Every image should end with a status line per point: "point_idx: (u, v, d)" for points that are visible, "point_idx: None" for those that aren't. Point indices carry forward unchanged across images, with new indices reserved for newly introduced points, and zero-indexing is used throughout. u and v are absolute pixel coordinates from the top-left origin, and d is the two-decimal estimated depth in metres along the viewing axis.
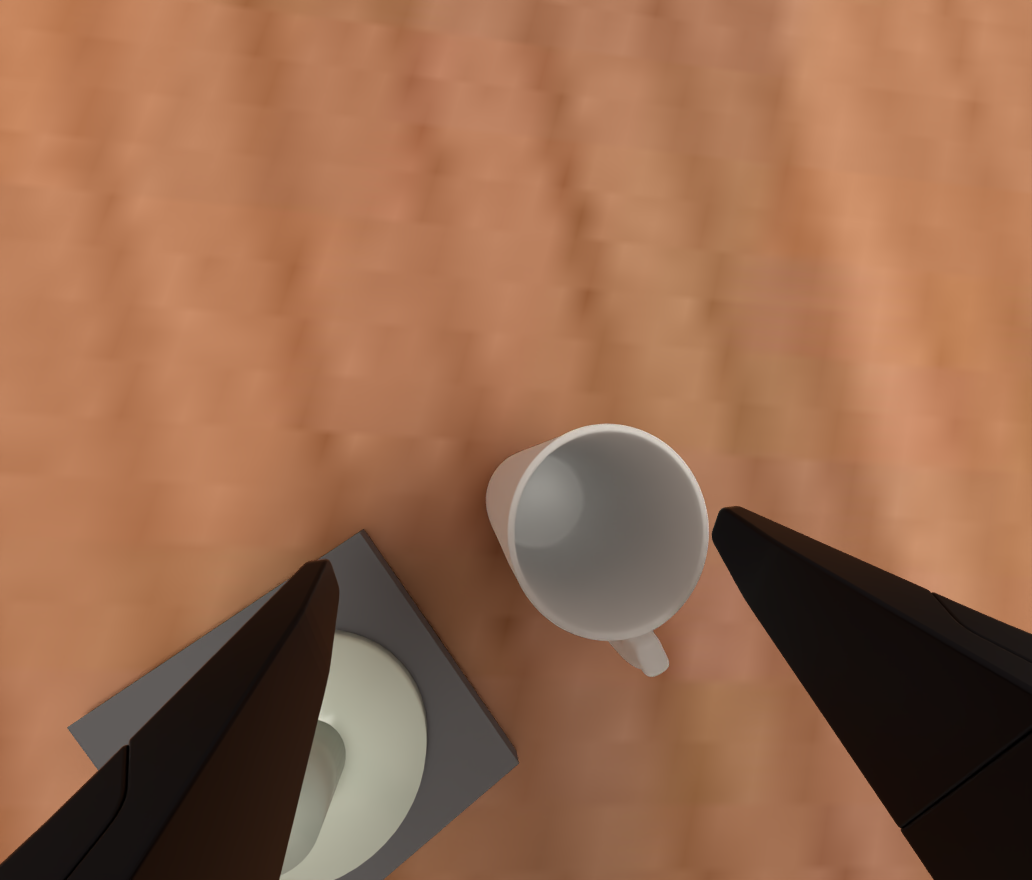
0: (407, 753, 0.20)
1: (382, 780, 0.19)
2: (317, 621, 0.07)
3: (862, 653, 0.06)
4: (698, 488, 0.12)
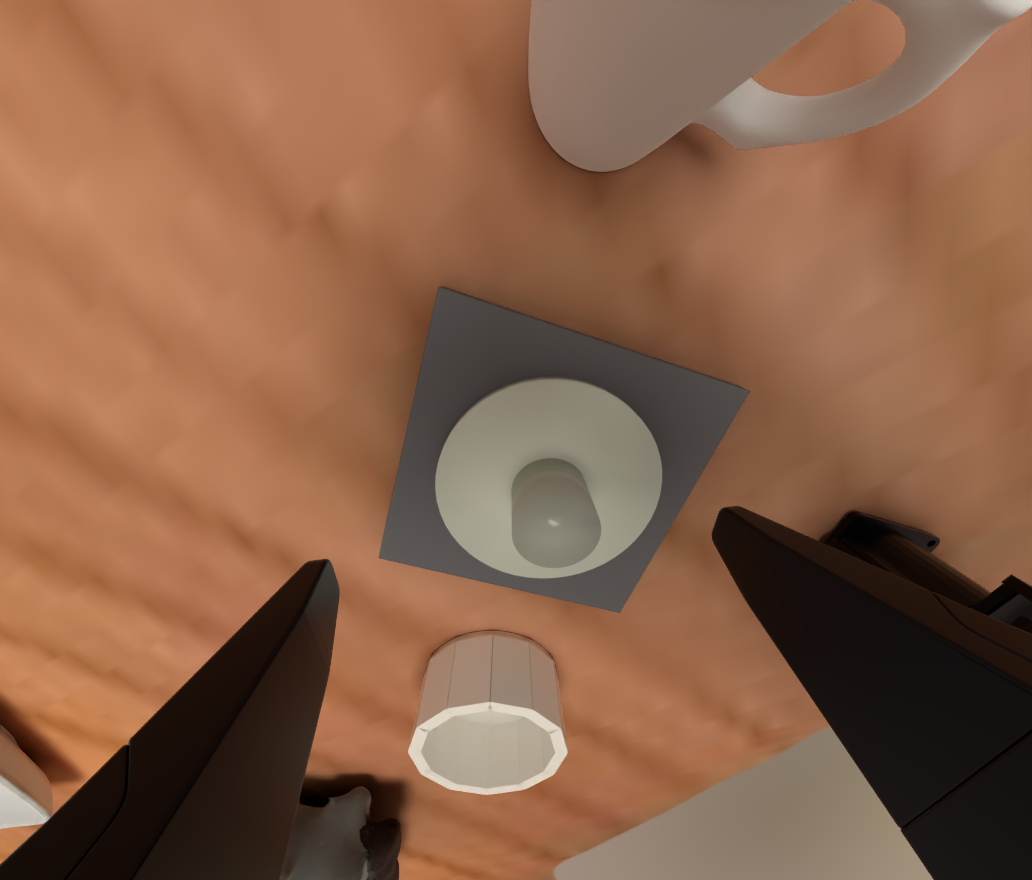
0: (632, 440, 0.19)
1: (623, 470, 0.20)
2: (317, 621, 0.07)
3: (862, 653, 0.06)
4: None
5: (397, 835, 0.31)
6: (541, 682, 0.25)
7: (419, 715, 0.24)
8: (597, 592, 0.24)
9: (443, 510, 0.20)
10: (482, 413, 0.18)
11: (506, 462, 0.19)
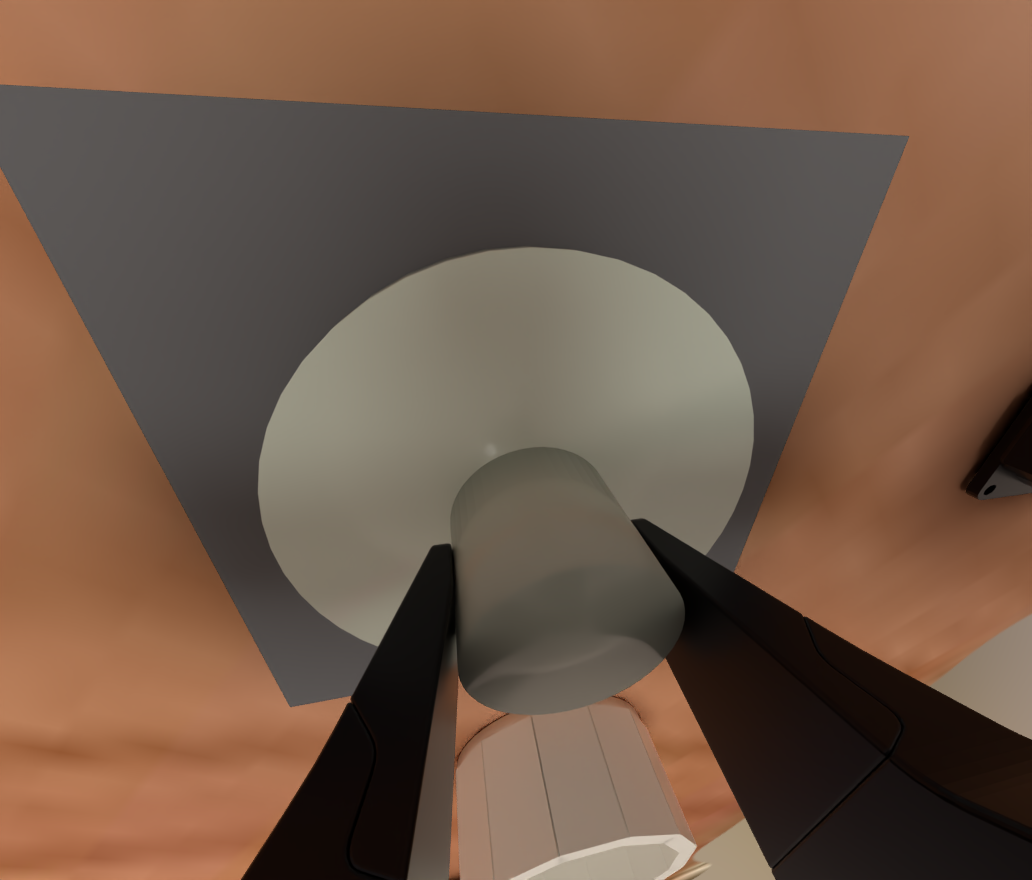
0: (673, 349, 0.08)
1: (669, 419, 0.09)
2: (454, 600, 0.07)
3: (733, 680, 0.06)
4: None
5: None
6: (625, 766, 0.16)
7: None
8: None
9: (342, 621, 0.10)
10: (300, 415, 0.07)
11: (415, 496, 0.09)
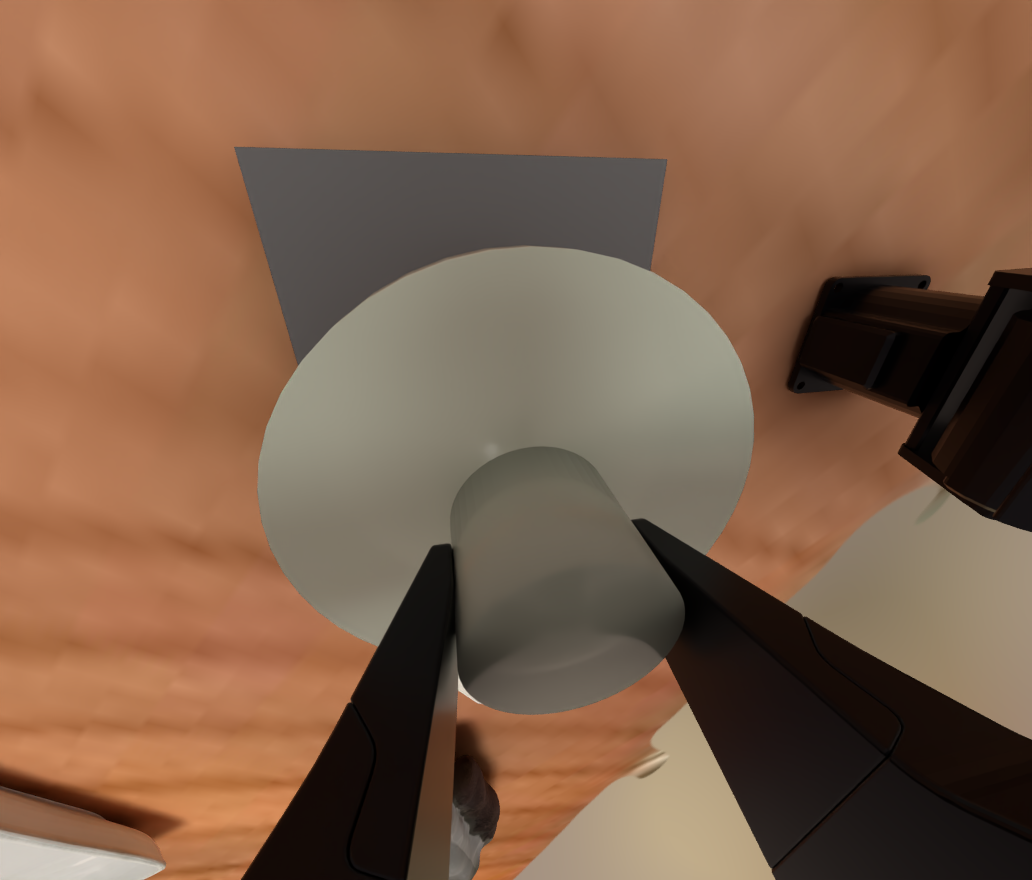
0: (673, 348, 0.08)
1: (670, 419, 0.09)
2: (454, 600, 0.07)
3: (733, 680, 0.06)
4: None
5: (472, 768, 0.31)
6: None
7: None
8: None
9: (342, 621, 0.10)
10: (299, 414, 0.07)
11: (415, 495, 0.09)
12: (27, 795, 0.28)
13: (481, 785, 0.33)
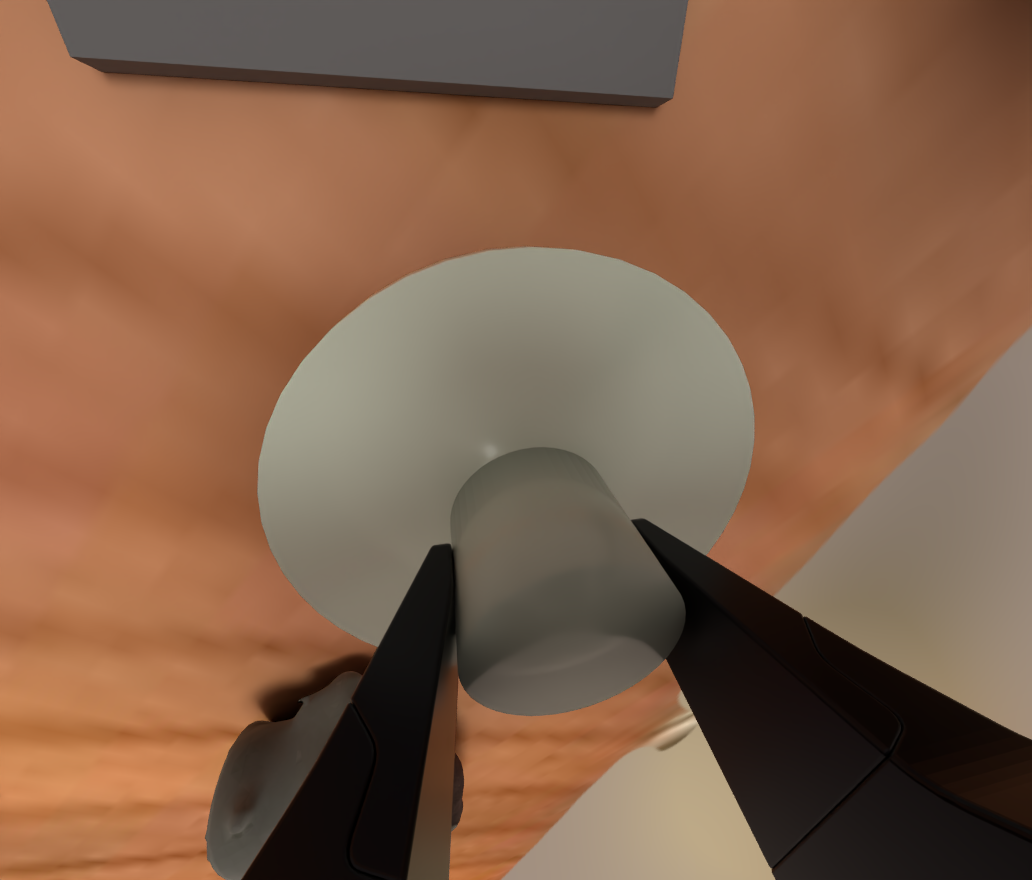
0: (673, 348, 0.08)
1: (670, 420, 0.09)
2: (454, 600, 0.07)
3: (733, 680, 0.06)
4: None
5: None
6: None
7: None
8: (614, 37, 0.11)
9: (342, 621, 0.10)
10: (299, 415, 0.07)
11: (415, 496, 0.09)
12: None
13: None
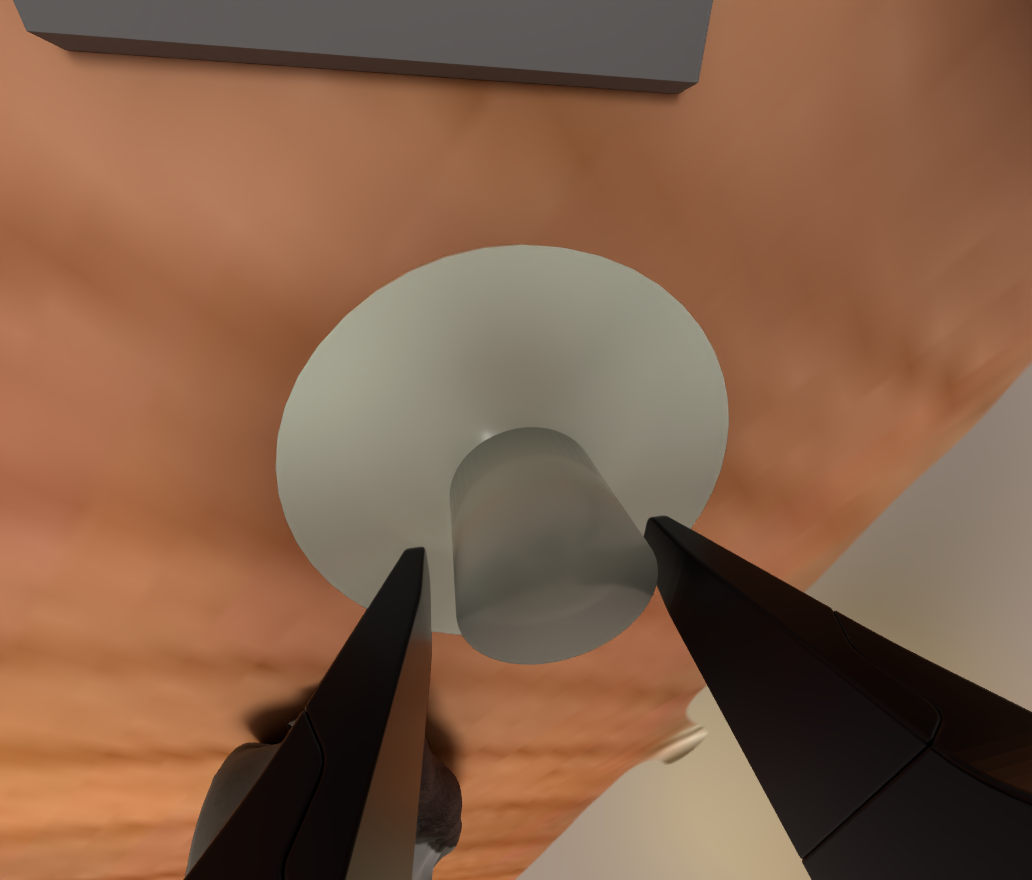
0: (651, 337, 0.09)
1: (650, 402, 0.10)
2: (425, 604, 0.07)
3: (764, 674, 0.06)
4: None
5: None
6: None
7: None
8: (635, 13, 0.10)
9: (350, 590, 0.11)
10: (315, 395, 0.08)
11: (418, 471, 0.09)
12: None
13: (423, 763, 0.20)
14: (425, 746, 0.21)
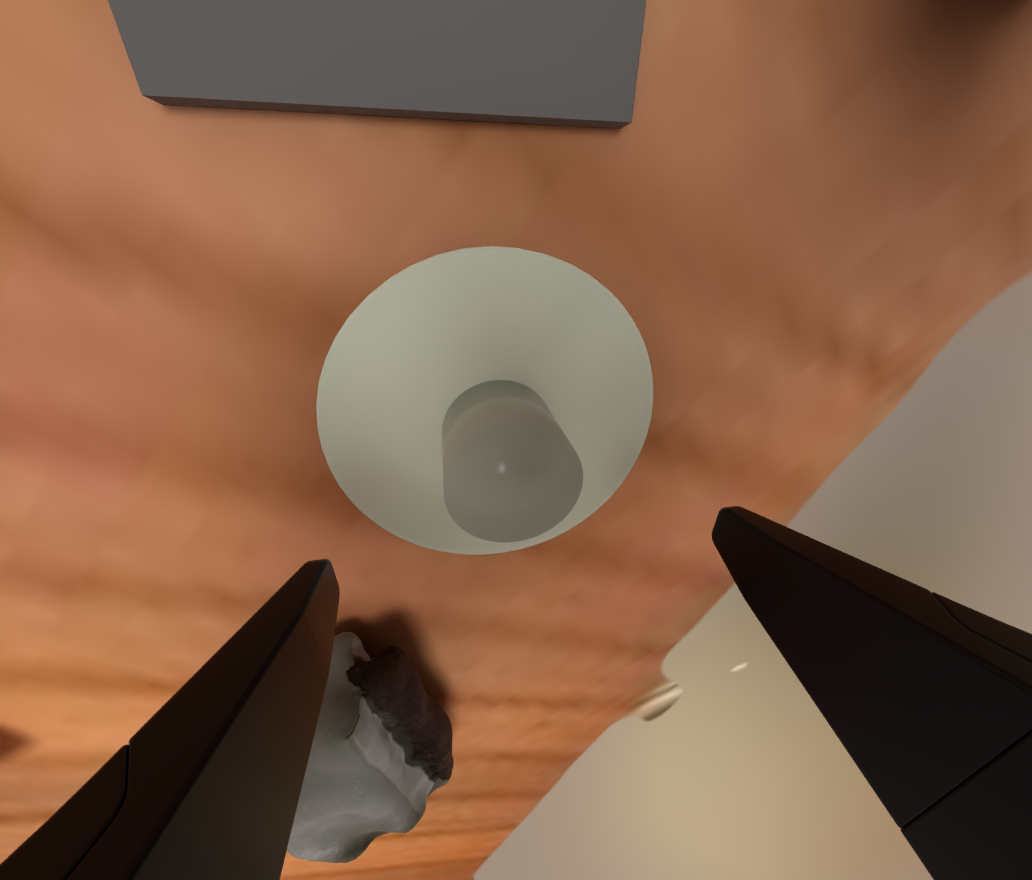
0: (586, 312, 0.12)
1: (590, 363, 0.13)
2: (317, 621, 0.07)
3: (862, 653, 0.06)
4: None
5: (399, 660, 0.22)
6: None
7: None
8: (580, 73, 0.13)
9: (366, 509, 0.14)
10: (346, 352, 0.11)
11: (418, 412, 0.13)
12: None
13: (416, 690, 0.24)
14: (418, 677, 0.24)
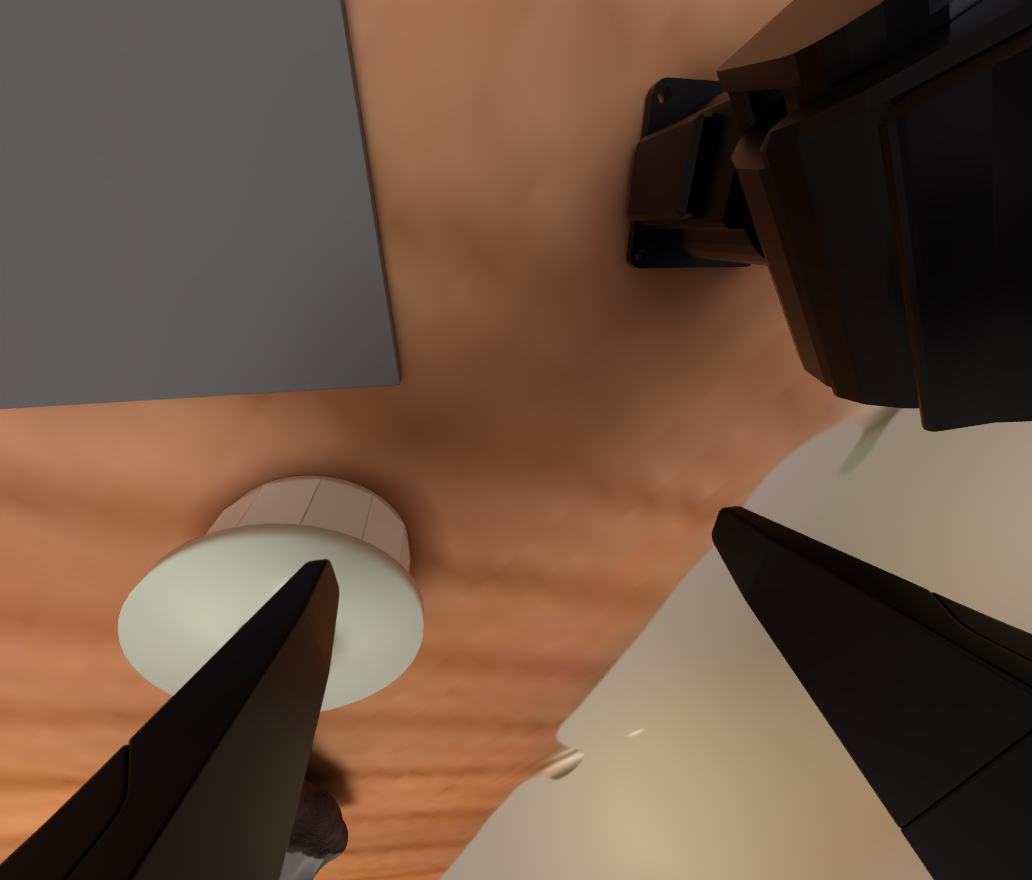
0: (334, 567, 0.15)
1: (351, 594, 0.16)
2: (317, 621, 0.07)
3: (861, 653, 0.06)
4: None
5: None
6: (331, 514, 0.18)
7: None
8: (345, 360, 0.16)
9: None
10: (134, 612, 0.15)
11: (210, 638, 0.16)
12: None
13: None
14: None
